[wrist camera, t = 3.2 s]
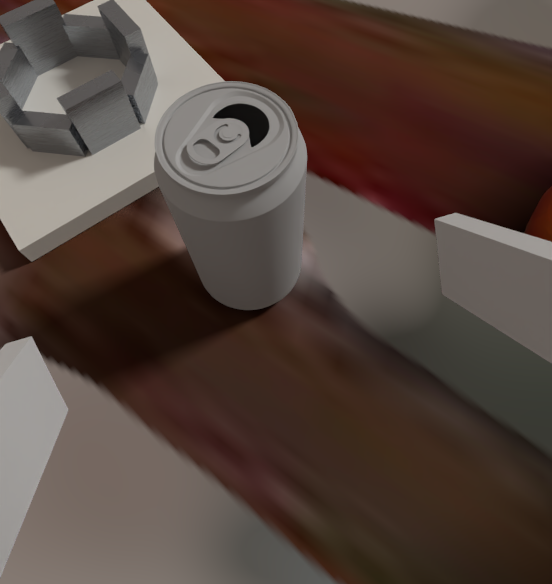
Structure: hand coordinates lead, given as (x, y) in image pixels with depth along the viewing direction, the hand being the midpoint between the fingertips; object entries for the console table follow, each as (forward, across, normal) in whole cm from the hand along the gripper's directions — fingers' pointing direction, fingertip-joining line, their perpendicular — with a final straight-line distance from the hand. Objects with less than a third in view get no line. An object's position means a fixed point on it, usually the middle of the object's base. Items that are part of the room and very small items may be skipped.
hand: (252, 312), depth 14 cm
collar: (+24, -7, +10) cm, 27 cm away
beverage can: (+14, +1, -3) cm, 14 cm away
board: (+25, -7, +8) cm, 28 cm away
